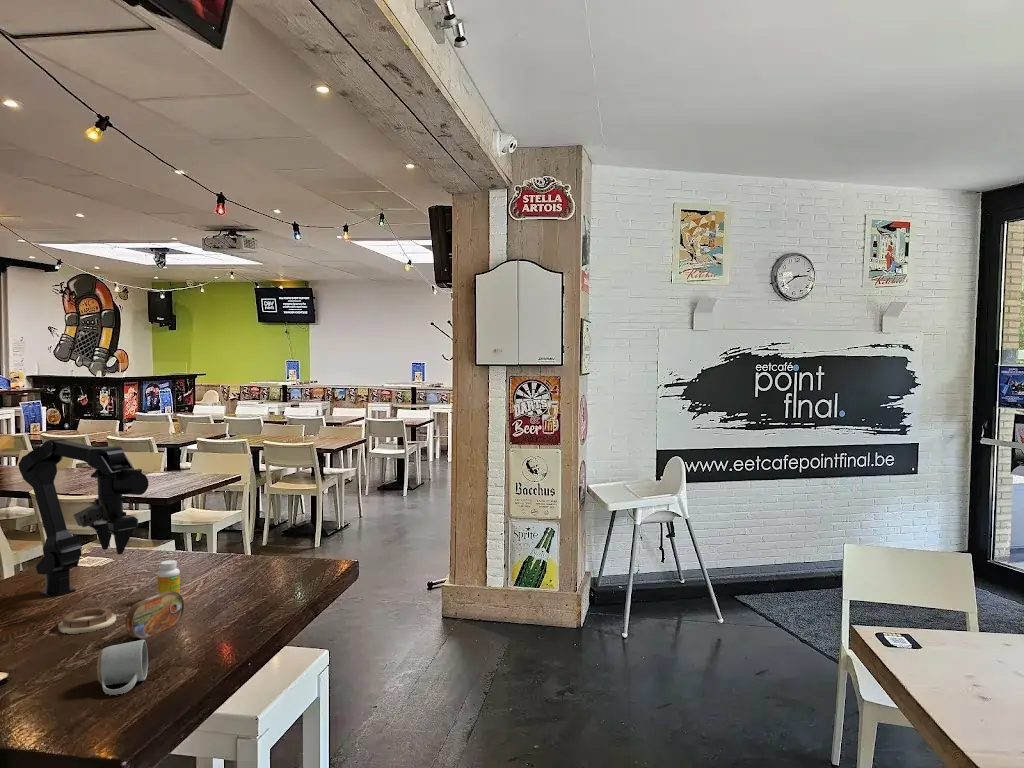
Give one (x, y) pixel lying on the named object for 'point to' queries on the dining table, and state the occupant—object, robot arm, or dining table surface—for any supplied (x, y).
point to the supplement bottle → (169, 577)
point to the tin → (154, 615)
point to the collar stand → (87, 620)
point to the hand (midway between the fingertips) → (112, 551)
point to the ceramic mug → (122, 665)
